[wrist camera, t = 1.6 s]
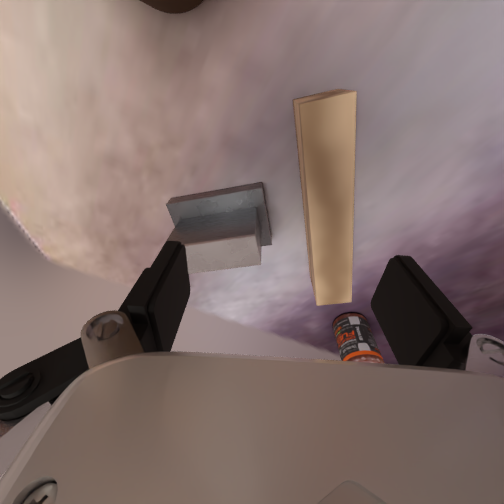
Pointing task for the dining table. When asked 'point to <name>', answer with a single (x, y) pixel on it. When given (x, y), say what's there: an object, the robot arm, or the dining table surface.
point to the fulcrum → (221, 227)
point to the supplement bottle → (356, 339)
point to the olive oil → (173, 5)
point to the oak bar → (328, 189)
